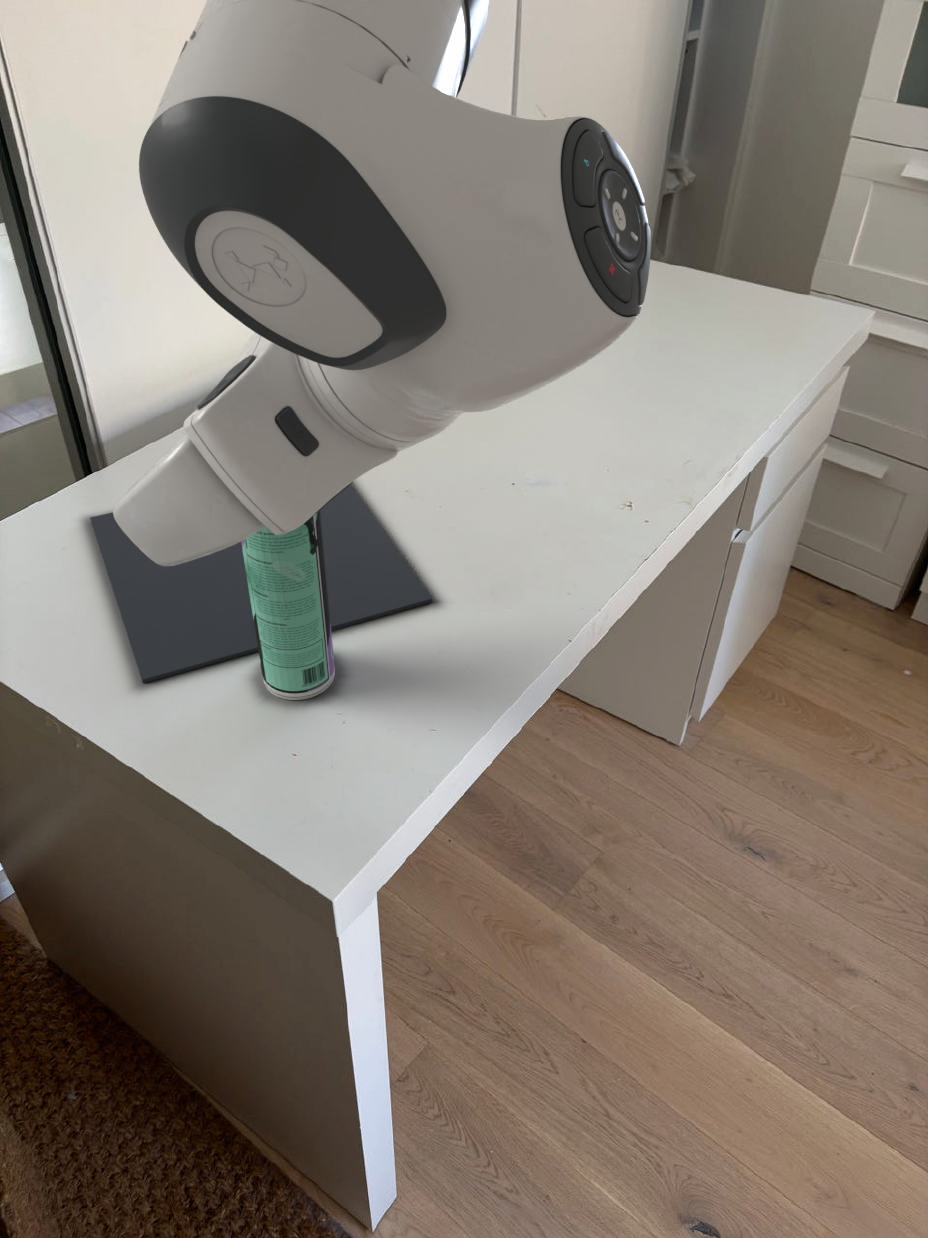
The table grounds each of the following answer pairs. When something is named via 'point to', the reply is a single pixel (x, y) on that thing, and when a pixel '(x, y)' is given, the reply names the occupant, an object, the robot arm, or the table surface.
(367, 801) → the table surface
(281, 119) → the robot arm
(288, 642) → the spray can
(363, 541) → the mat
